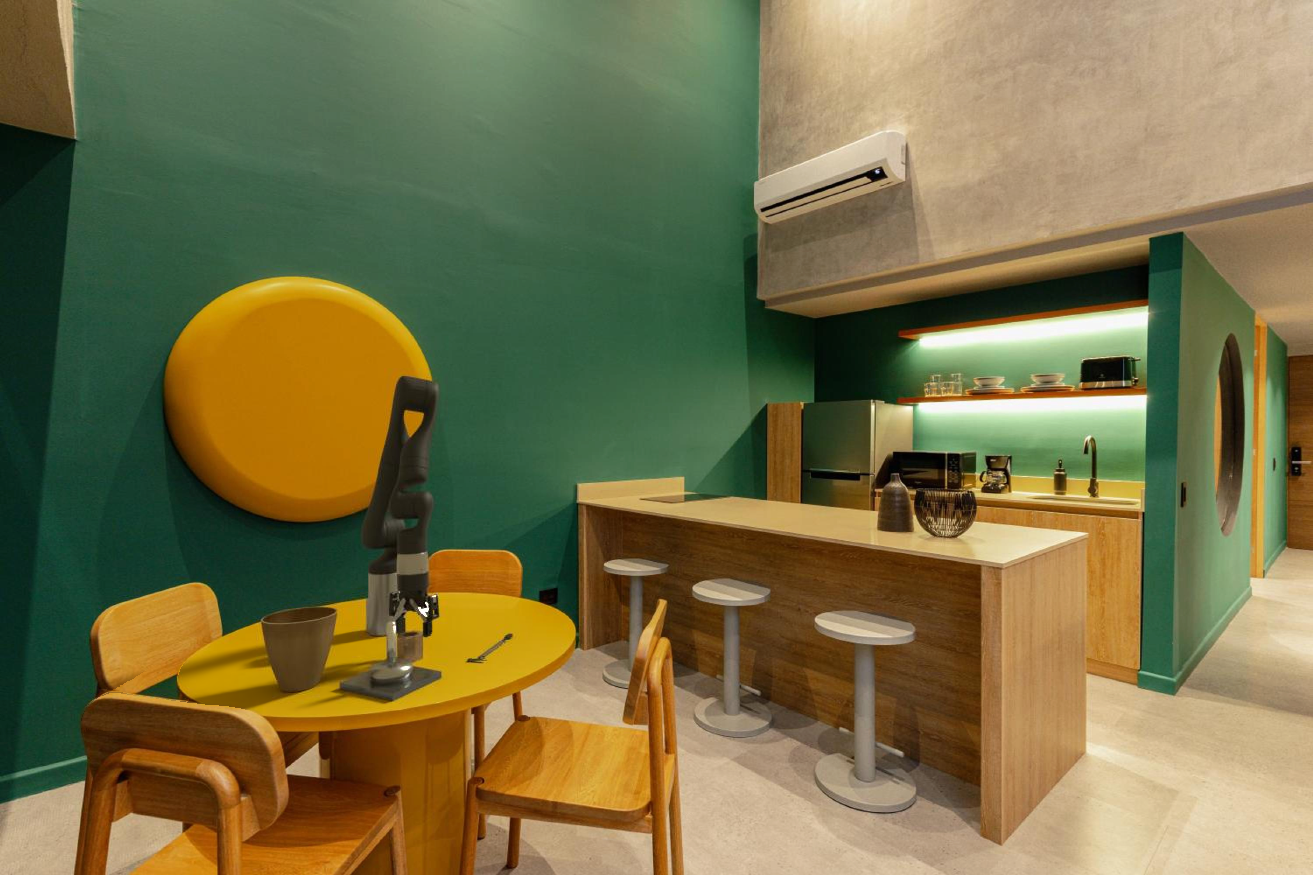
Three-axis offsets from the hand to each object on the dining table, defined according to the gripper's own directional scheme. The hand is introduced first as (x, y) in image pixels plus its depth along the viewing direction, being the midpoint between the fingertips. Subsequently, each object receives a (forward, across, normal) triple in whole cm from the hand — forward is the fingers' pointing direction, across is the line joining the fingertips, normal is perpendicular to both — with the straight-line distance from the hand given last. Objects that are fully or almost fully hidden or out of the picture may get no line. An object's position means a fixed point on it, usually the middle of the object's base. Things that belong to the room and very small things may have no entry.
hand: (414, 634), depth 156 cm
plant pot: (+6, -11, -23) cm, 26 cm away
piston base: (+6, +8, -15) cm, 18 cm away
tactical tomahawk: (+7, +15, +13) cm, 21 cm away
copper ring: (+6, -1, 0) cm, 6 cm away
